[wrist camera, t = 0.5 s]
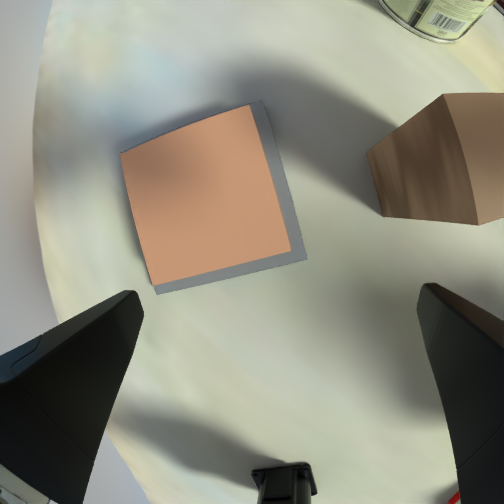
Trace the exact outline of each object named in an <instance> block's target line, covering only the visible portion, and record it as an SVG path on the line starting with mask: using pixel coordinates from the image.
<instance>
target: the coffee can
mask: <svg viewBox="0 0 504 504" xmlns="http://www.w3.org/2000/svg"><path fill="white" fill-rule="evenodd" d="M378 1H379V3H380V4H381V5H382V7H383V8H384V9H385V10H386V12H387V13H388V14H389V15H390V16H391V17H393V18H394V19H395V20H396V21H397V22H398V23H399V24H401V25H402V26H403V27H405V28H407V29H408V30H410V31H411V32H413V33H415V34H416V35H418V36H420V37H423V38H425V39H428V40H430V41H434V42H437V43H443V44H451V43H456V42H458V41H459V40H461V38H462V37H463V35H464V34H465V33H466V32H467V31H468V30H469V29H470V28H471V27H472V26H473V25H474V24H475V23H476V22H477V21H478V20H479V19H480V18H481V17H482V16H483V15H484V14H485V13H486V12H487V10H488V9H489V8H490V7H491V6H492V5H493V4H494V3H495V2H496V1H497V0H378Z"/></svg>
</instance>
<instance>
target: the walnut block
mask: <svg viewBox="0 0 504 504" xmlns="http://www.w3.org/2000/svg"><path fill="white" fill-rule="evenodd" d="M366 155H367V158H368V161H369V165H370V168H371V172H372V175H373V179H374V183H375V186H376V190H377V194H378V198H379V202H380V206H381V211H382V215H383V217H393V218H406V219H418V220H430V221H440V222H451V223H460V224H470V225H482V224H485V223H488V222H492V221H495V220H498V219H501V218H504V93H450V94H442V95H441V96H439V97H438V98H437V99H435V100H434V101H433V102H432V103H430V104H429V105H428V106H426V107H425V108H424V109H422V110H421V111H420V112H418V113H417V114H416V115H414V116H413V117H412V118H411V119H409V120H408V121H407V122H405V123H404V124H403V125H401V126H400V127H399V128H397V129H396V130H395V131H394V132H392V133H391V134H390V135H388V136H387V137H386V138H384V139H383V140H382V141H381V142H379V143H378V144H377V145H375V146H374V147H373V148H372V149H370V150H369V151H368V152H366Z"/></svg>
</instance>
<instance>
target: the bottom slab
mask: <svg viewBox="0 0 504 504" xmlns="http://www.w3.org/2000/svg"><path fill="white" fill-rule="evenodd" d="M248 105H249V106H250V108H251V111H252V113H253V116H254V119H255V122H256V126H257V129H258V132H259V135H260V139H261V142H262V145H263V149H264V152H265V155H266V159H267V162H268V165H269V169H270V172H271V176H272V179H273V183H274V186H275V190H276V193H277V197H278V200H279V204H280V208H281V211H282V215H283V218H284V222H285V226H286V229H287V233H288V237H289V241H290V245H291V251H289V252H285V253H281V254H277V255H273V256H269V257H265V258H261V259H258V260H254V261H250V262H246V263H242V264H238V265H234V266H230V267H226V268H222V269H218V270H214V271H210V272H206V273H202V274H198V275H194V276H190V277H186V278H182V279H178V280H174V281H170V282H166V283H162V284H158V285H154V289H155V292H156V295H159V294H164V293H168V292H172V291H177V290H181V289H186V288H190V287H194V286H199V285H203V284H207V283H212V282H216V281H220V280H224V279H229V278H233V277H237V276H241V275H246V274H250V273H254V272H258V271H262V270H266V269H270V268H274V267H278V266H283V265H287V264H291V263H295V262H299V261H303V260H307V255H306V251H305V247H304V243H303V239H302V235H301V231H300V227H299V223H298V220H297V216H296V212H295V208H294V205H293V201H292V197H291V194H290V190H289V186H288V183H287V179H286V176H285V172H284V169H283V165H282V162H281V158H280V155H279V152H278V148H277V145H276V141H275V138H274V135H273V132H272V128H271V125H270V122H269V119H268V116H267V112H266V109H265V106H264V103H263V100H262V101H258V102H255V103H251V104H248ZM244 106H247V105H244ZM244 106H241V107H244ZM238 108H240V107H238ZM234 109H237V108H234ZM234 109H231V110H234ZM231 110H228V111H231ZM228 111H225V112H228ZM222 113H224V112H222ZM219 114H221V113H219ZM216 115H218V114H216ZM216 115H213V116H216ZM213 116H210V117H213ZM210 117H207V118H210ZM207 118H204V119H207ZM204 119H201V120H204ZM201 120H198V121H201ZM198 121H195V122H193V123H196V122H198ZM193 123H190V124H193ZM190 124H187V125H185V126H188V125H190ZM185 126H182V127H185ZM182 127H179V128H177V129H180V128H182ZM177 129H174V130H172V131H175V130H177ZM172 131H169V132H167V133H170V132H172ZM167 133H164V134H162V135H159V136H157V137H155V138H158V137H160V136H163V135H165V134H167ZM155 138H152V139H150V140H148V141H151V140H153V139H155ZM148 141H145V142H143V143H141V144H138V145H136V146H134V147H132V148H130V149H127V150H125V151H123V152H121V154H122V153H124V152H126V151H129V150H131V149H133V148H135V147H137V146H139V145H142V144H144V143H146V142H148Z"/></svg>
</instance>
